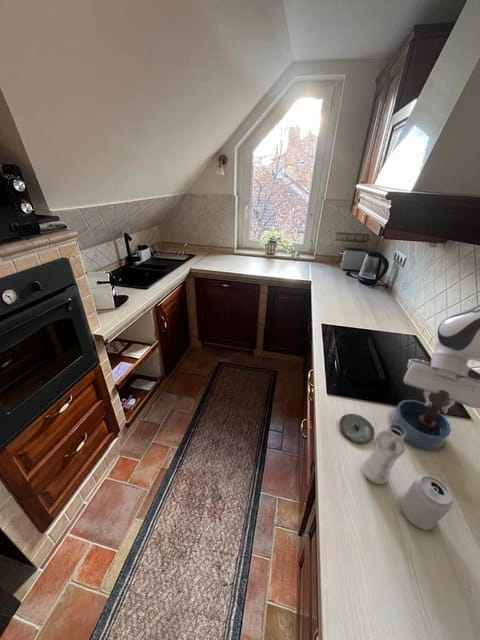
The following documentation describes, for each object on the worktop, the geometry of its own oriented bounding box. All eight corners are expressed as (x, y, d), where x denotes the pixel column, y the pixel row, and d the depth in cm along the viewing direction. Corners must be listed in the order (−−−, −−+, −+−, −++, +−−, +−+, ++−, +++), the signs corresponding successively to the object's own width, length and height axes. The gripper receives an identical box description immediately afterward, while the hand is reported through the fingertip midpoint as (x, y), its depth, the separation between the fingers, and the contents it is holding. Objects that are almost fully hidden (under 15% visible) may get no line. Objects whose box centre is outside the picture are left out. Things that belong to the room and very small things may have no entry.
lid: (372, 430, 86) (376, 417, 85) (373, 449, 77) (377, 436, 76) (339, 419, 90) (342, 406, 89) (336, 436, 81) (340, 422, 80)
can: (440, 523, 62) (463, 499, 56) (419, 537, 60) (441, 513, 54) (412, 492, 68) (431, 467, 62) (392, 503, 66) (409, 478, 60)
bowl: (428, 415, 90) (436, 403, 87) (450, 454, 78) (460, 441, 74) (385, 409, 92) (390, 396, 89) (399, 446, 79) (407, 433, 76)
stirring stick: (428, 420, 85) (448, 388, 77) (435, 432, 81) (457, 400, 74) (414, 418, 86) (432, 386, 78) (420, 430, 82) (439, 397, 74)
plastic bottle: (357, 475, 72) (378, 430, 61) (367, 458, 76) (388, 414, 66) (380, 493, 68) (407, 448, 58) (389, 475, 72) (416, 430, 62)
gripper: (411, 354, 83) (399, 395, 81) (492, 379, 74) (481, 425, 71) (407, 358, 88) (395, 395, 86) (482, 381, 79) (471, 424, 77)
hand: (435, 409), depth 79 cm, fingers closed on stirring stick, 2 cm apart
